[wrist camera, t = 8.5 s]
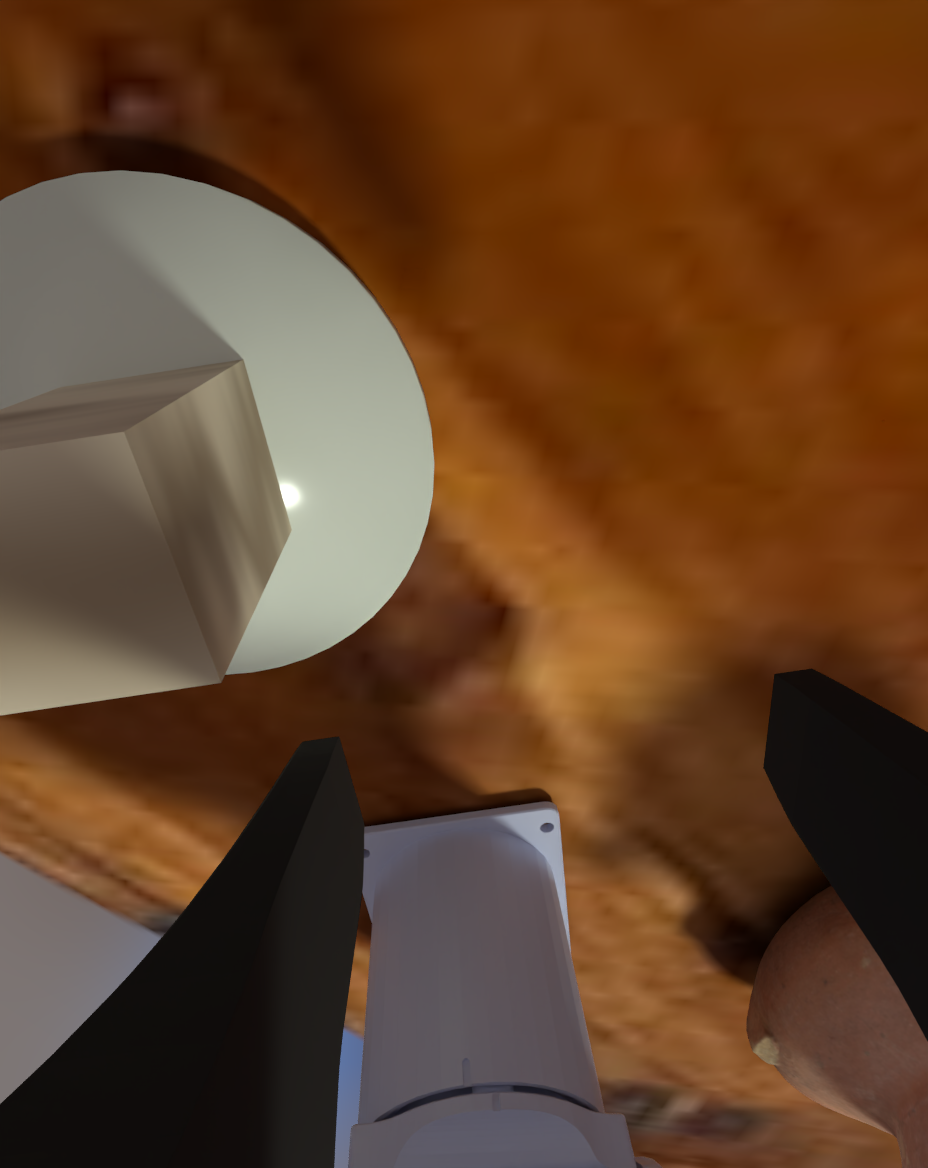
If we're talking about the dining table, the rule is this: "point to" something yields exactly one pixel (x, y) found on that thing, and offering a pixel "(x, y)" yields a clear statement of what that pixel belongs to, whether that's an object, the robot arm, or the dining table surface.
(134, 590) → the block
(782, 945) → the ceramic jug
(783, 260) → the dining table surface
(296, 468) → the plate
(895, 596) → the dining table surface
